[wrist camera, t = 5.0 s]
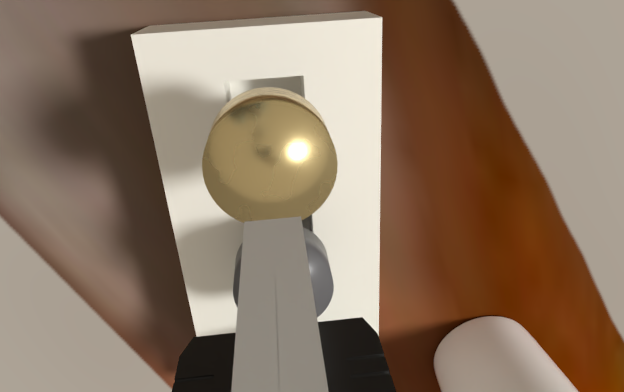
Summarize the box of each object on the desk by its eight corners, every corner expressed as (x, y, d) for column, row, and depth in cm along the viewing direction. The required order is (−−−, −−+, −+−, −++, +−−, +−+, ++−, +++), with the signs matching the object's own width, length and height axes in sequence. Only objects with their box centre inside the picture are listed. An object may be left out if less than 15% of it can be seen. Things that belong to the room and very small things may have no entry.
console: (149, 25, 25) (130, 34, 22) (365, 10, 26) (382, 17, 22) (216, 361, 36) (211, 404, 33) (366, 344, 37) (378, 384, 34)
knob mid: (233, 193, 29) (226, 253, 23) (317, 185, 29) (332, 242, 23) (243, 263, 31) (239, 334, 25) (321, 255, 31) (335, 324, 25)
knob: (210, 71, 23) (191, 108, 16) (315, 63, 23) (335, 97, 17) (224, 169, 25) (213, 233, 19) (320, 160, 25) (339, 221, 19)
